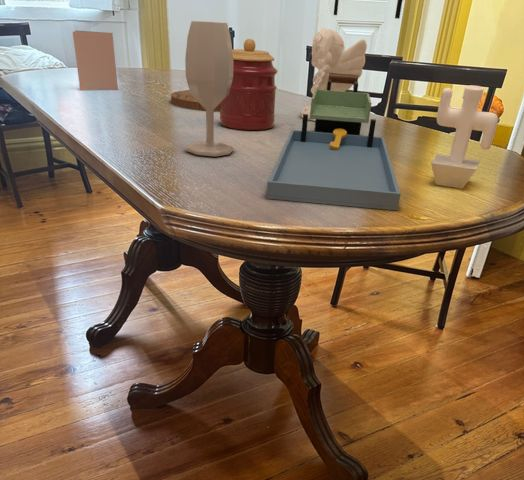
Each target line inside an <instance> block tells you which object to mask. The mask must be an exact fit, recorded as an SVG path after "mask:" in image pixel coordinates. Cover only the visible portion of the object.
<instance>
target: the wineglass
mask: <svg viewBox="0 0 524 480" xmlns="http://www.w3.org/2000/svg"><path fill="white" fill-rule="evenodd" d="M232 50H233V45H232V37H231V32H230V28H229V25H228V23H227V22H221V21H220V22H219V21H205V20H202V21H201V20H191V21H190V26H189V29H188V33H187V38H186V48H185V58H184V60H185V61H184V64H185V79H186V83H187V86H188V90H189V91H190V94H191V95H192V96H193V97H194V98H195V99H196V100H197V101H198V102H199V103H200V104H201V105H202V106H203V107H204V108H205V109H206V112H205V119H206V120H205V121H206V123H205V129H206V130H205V132H206V134H205V135H206V136H205V139H206V141H202V142H193V143H191V144H189V145H187V146H186V148H185V151H186V152H189V153H190V154H194V155H195V156H203V157H204V156H205V157H215V158H216V157H221V156H227V155H231V153H233V151H234V146H232V145H228V144H226V143H223V142H215V137H214V136H215V132H214V131H215V128H214V127H215V125H214V123H215V122H214V121H215V120H214V119H215V117H214V113H215V111H214V109H215V108H216V107H217V106H218V105H219V104H220V103H221V102H222V101H223V100H224V99H225V98H226V97H227V96H228V95H229V92H230V88H231V84H232V80H233V52H232Z"/></svg>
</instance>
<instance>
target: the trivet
mask: <svg viewBox="0 0 524 480" xmlns="http://www.w3.org/2000/svg"><path fill="white" fill-rule="evenodd" d="M170 103H171V104H172V105H173V106H176V107H179V108H183V109H188V110H195V111H196V110H197V111H204V112H205V111H206V109H205V108H204V107H203V106H202V105H201V104H200V103H199V102H198V101H197V100H196V99H195V98H194V97H193V96H192V95H191V94H190V91H189V89H186V90H178V91H173V92H172V93H171V94H170ZM220 110H221V103H220V104H219V105H218V106H217V107H216V108H215V109H214V112H220Z"/></svg>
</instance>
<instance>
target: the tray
mask: <svg viewBox="0 0 524 480" xmlns="http://www.w3.org/2000/svg"><path fill="white" fill-rule="evenodd" d="M301 133H302V130H299V129H298V130H297V129H291V131H290V132H289V135H288V137H287V139H286V141H285V143H284V146H283V147H282V150H281V152H280V154H279V157H278V159H277V161H276V163H275V165H274V167H273V169H272V171H271V174H270V176H269V178H268V180H267V185H266V199H267V200H279V201H288V202H289V201H290V202H300V203H310V204H312V203H313V204H320V205H321V204H322V205H323V204H324V205H333V206H345V207H354V208H364V209H376V210H387V211H398V209H399V204H400V198H401V194H402V193H401V190H400V187H399V184H398V181H397V177H396V174H395V171H394V167H393V164H392V160H391V157H390V153H389V151H388V150H389V149H388V147H387V144H386V140H385V137H384V136H373V143H372V148H369V147H367V142H368V135H361V134H360V135H349V134H347V135H346V137H345V138H342V139H341V143H340V146H339V150H333V149H330V148H329V146H330V142H331V141H333V142H334V141H335V137H334V136H333V133H324V132H315V131H313V130H312V131H310V130H307V132H306V142H301Z"/></svg>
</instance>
